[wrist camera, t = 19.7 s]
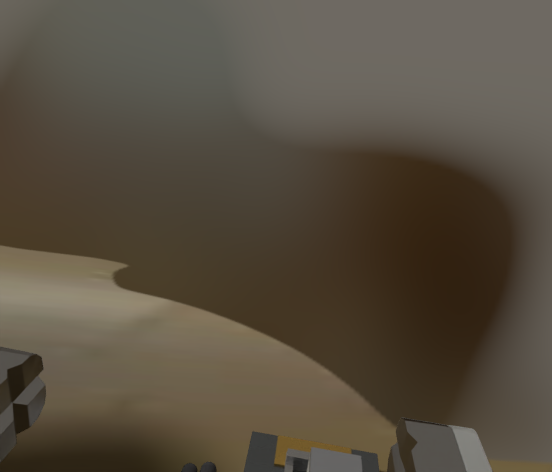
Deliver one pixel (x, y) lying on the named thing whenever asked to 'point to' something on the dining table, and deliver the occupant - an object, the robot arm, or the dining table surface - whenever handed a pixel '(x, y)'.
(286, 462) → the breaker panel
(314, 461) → the knob
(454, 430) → the robot arm
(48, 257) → the dining table surface
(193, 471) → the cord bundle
